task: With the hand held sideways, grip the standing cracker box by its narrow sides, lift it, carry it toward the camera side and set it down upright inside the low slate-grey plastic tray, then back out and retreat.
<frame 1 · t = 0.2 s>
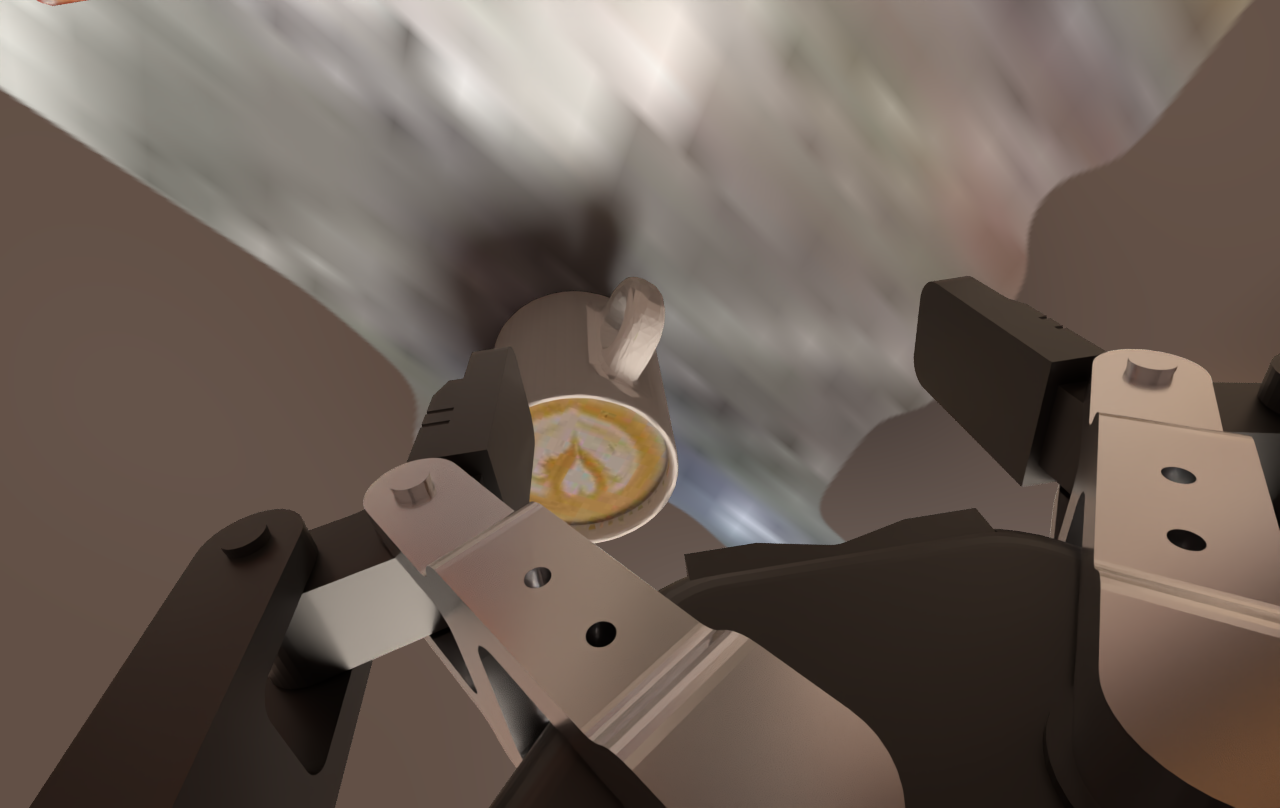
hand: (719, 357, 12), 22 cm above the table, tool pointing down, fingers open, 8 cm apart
coffee mug: (592, 343, 38), on the table
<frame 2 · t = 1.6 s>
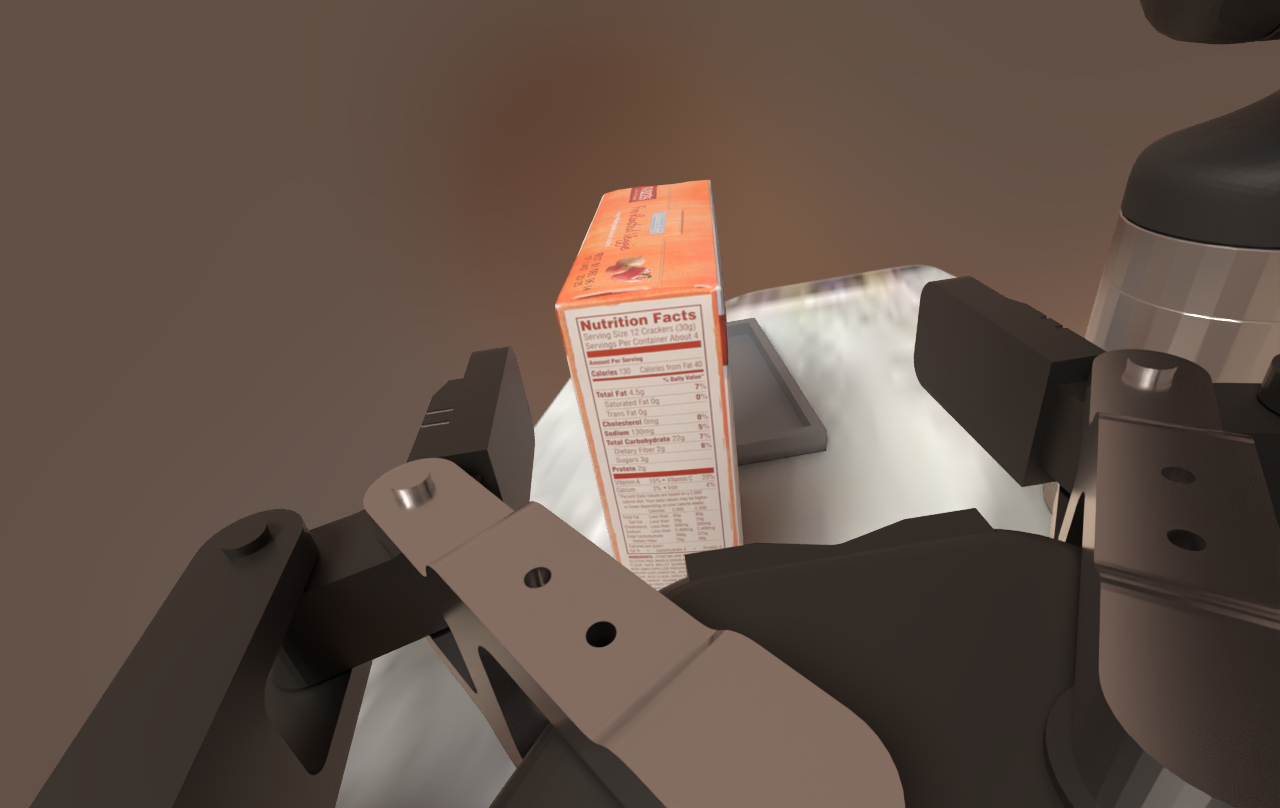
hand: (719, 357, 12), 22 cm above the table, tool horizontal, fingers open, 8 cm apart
cracker box: (693, 576, 37), on the table
tray: (712, 395, 53), on the table
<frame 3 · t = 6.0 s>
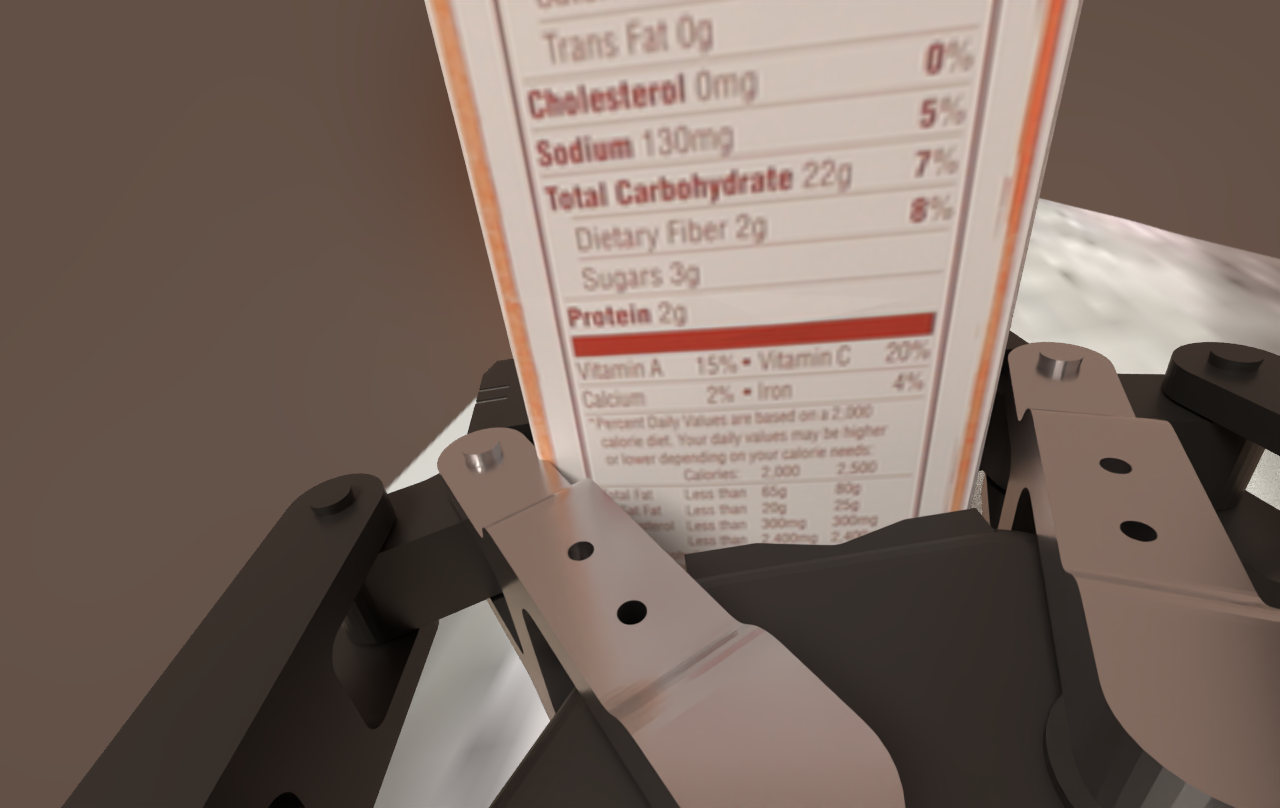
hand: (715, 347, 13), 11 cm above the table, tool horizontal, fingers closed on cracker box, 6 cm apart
cracker box: (735, 628, 20), on the table, touching gripper
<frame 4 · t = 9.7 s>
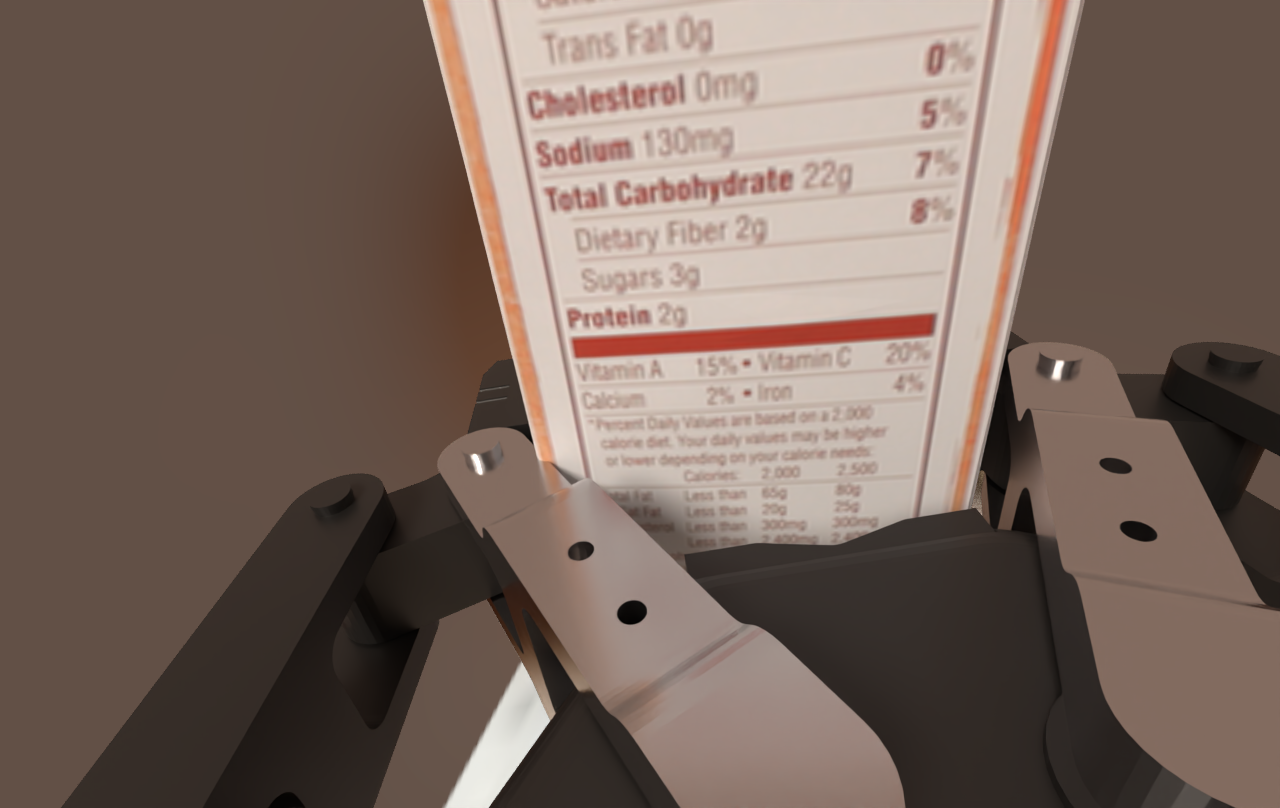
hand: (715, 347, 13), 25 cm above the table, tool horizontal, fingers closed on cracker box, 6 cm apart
cracker box: (735, 629, 20), point 14 cm above the table, touching gripper
when the fingers open (12 cm above the table, at t = 13.2 s): cracker box drops 1 cm, resting on tray.
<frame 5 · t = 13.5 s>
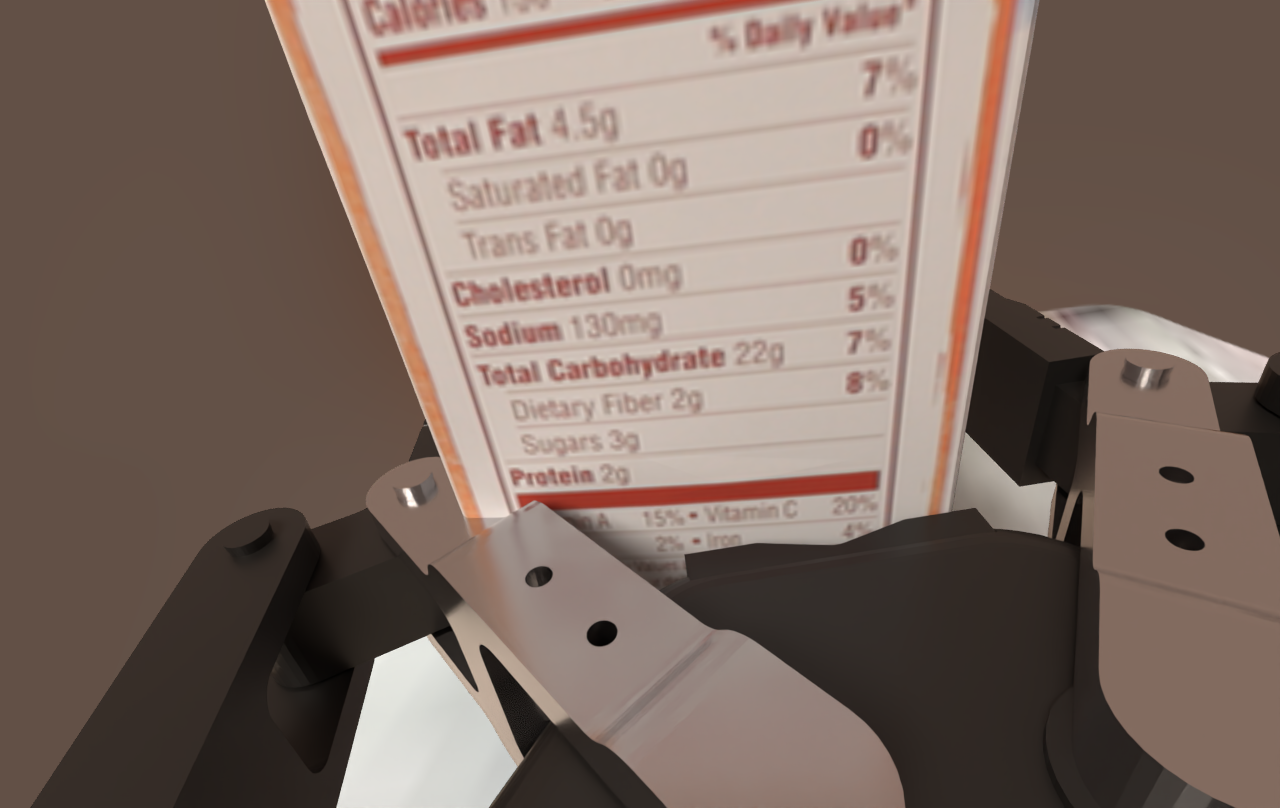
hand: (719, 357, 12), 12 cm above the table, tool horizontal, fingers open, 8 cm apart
cracker box: (725, 679, 20), resting on tray, touching gripper
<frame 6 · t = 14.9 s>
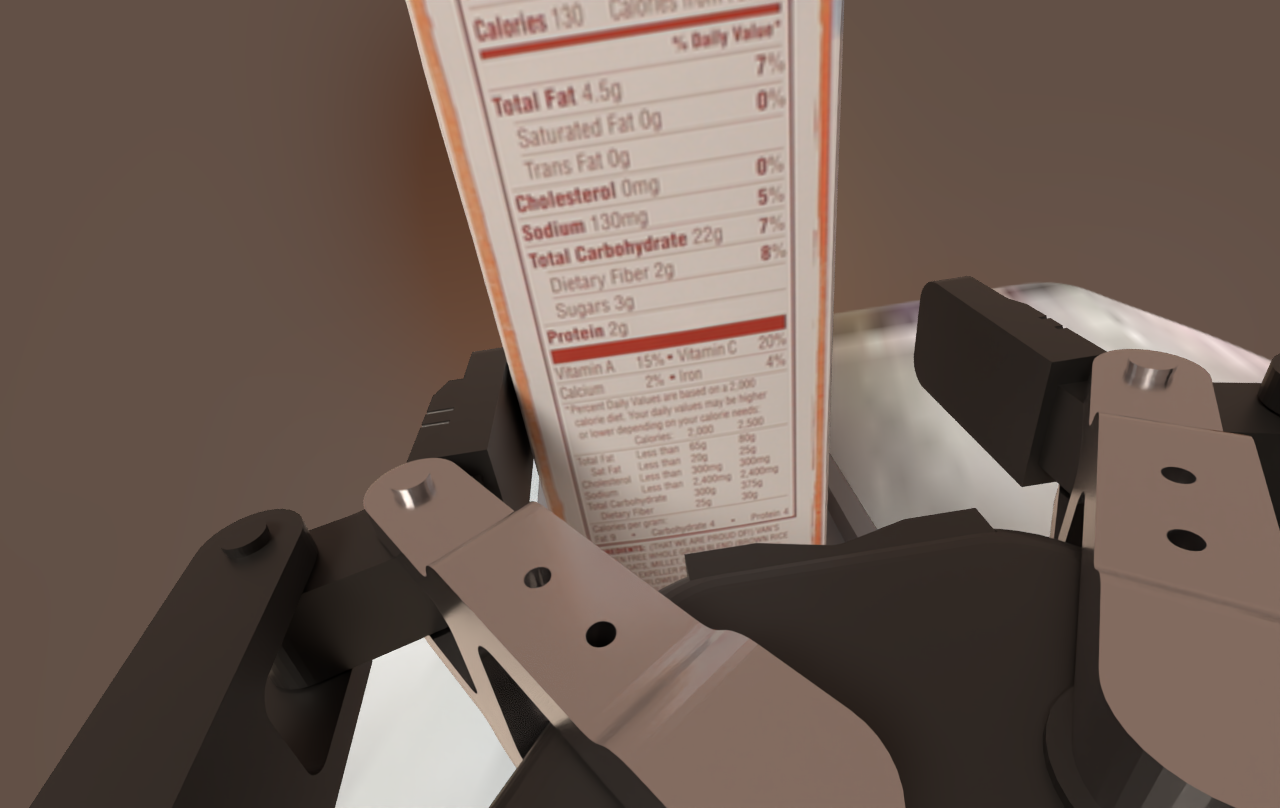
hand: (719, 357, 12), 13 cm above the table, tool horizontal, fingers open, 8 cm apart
cracker box: (684, 589, 23), resting on tray
tray: (699, 556, 25), on the table
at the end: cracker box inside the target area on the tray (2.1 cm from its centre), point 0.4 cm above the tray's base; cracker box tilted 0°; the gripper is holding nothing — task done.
